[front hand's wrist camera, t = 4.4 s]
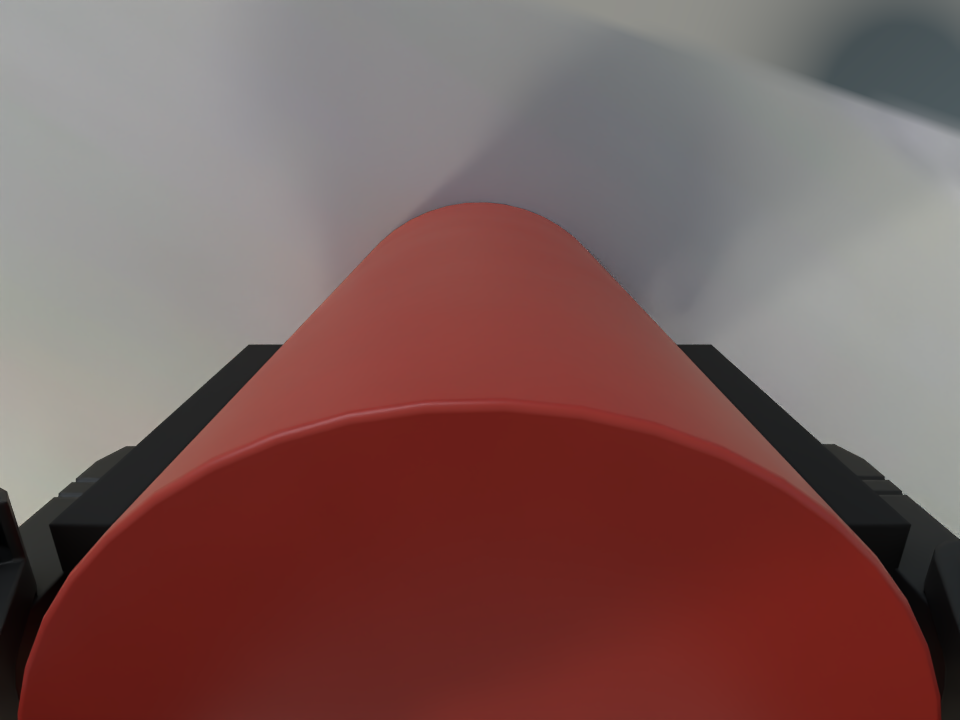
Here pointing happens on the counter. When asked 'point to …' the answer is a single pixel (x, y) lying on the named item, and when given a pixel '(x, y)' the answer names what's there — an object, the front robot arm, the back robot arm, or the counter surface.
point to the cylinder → (479, 525)
